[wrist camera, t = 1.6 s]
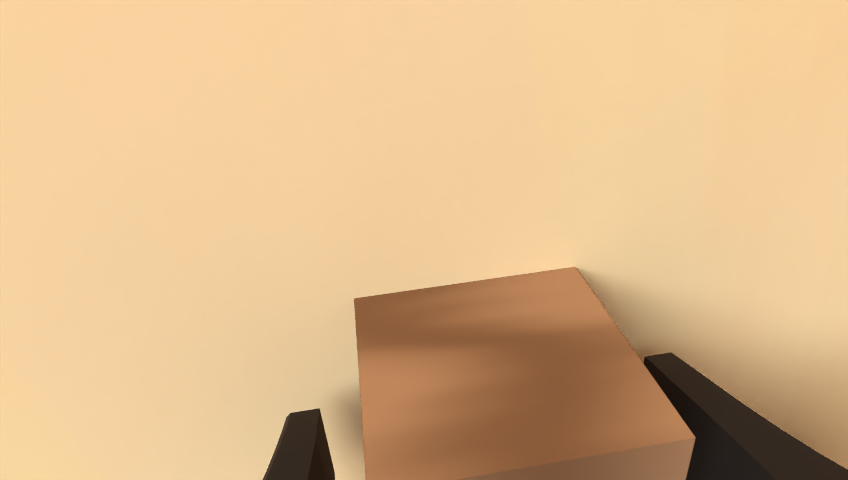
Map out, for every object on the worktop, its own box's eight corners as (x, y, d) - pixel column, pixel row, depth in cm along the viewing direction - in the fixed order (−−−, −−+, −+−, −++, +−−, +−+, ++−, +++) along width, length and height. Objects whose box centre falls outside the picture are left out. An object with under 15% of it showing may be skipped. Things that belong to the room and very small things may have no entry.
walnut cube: (379, 451, 15) (399, 665, 11) (353, 296, 13) (367, 495, 8) (562, 420, 15) (654, 615, 11) (573, 264, 13) (695, 438, 9)
